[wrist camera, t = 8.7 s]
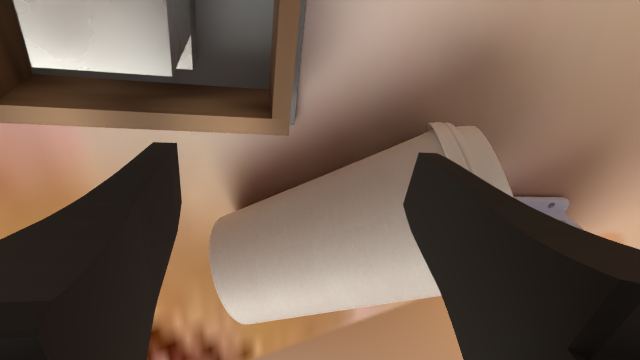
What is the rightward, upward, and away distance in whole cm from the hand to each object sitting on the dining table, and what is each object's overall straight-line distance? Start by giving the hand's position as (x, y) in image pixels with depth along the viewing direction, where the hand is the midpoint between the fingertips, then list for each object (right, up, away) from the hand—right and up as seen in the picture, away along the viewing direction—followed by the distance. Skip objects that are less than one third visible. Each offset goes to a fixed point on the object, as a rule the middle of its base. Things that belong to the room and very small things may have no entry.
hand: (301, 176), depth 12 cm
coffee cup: (-4, -6, +12) cm, 14 cm away
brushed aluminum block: (-7, +8, +6) cm, 12 cm away
